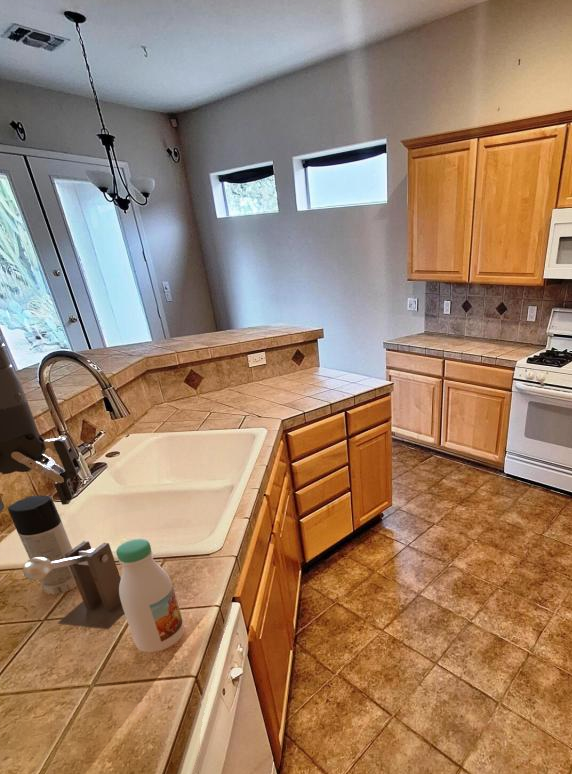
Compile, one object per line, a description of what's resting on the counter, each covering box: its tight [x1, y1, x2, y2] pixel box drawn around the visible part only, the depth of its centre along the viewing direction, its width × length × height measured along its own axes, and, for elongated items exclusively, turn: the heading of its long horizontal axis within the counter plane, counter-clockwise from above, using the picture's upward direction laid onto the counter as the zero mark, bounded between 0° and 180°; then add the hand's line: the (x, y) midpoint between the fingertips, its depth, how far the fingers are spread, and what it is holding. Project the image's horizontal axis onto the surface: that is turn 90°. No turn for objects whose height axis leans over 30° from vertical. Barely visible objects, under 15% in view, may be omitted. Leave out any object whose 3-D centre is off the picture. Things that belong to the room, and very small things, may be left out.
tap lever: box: [22, 548, 96, 581], centre depth 72 cm, size 13×4×4 cm, turn 173°
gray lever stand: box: [57, 540, 125, 630], centre depth 80 cm, size 12×10×14 cm
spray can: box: [7, 494, 78, 595], centre depth 83 cm, size 7×7×20 cm
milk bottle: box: [115, 538, 185, 653], centre depth 72 cm, size 8×8×20 cm
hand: (33, 506), depth 65 cm, fingers open, 8 cm apart
